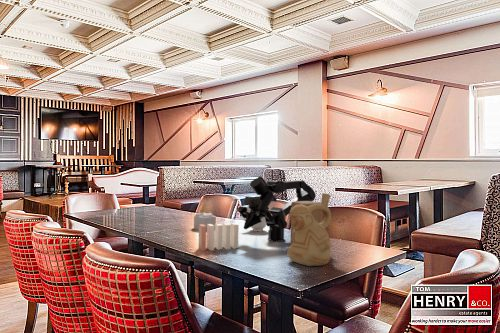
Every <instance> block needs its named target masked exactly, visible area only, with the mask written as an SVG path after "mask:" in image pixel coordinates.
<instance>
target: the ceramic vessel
mask: <svg viewBox="0 0 500 333" xmlns="http://www.w3.org/2000/svg"><path fill="white" fill-rule="evenodd" d="M330 199H331V194H328V193H322V194H321V201H320V203H321V204H313V205H310V206H308V207H307V206H305V205H302V204H299V205H295V206H294V207H292V208H291V210H290V225H291V224H292V227H293V228H294V229H293V231H292V240H293V243H292V245H291V244H290V246H289V247H288V249H287V252H286V253H287V254H286V255H287V257H288V259H289V260H290V261H292V262H294V263H296V264H300V265H303V266H307V267H314V266H315V267H316V266H317V267H319V266H323V265H327V264H329V262H330V260H331V252H332V251H331V250H332V249H331V244H332V243H331V240H330V235H329V233H328V231H327V228H328V226H330V223H331V221H332V213H331V210H330V208H329V201H330ZM318 210H320V211H323V214H324V215H323V216H324V218H323V219H322V222H321V223H318V222H317V221H316V220H315V219H314V217H313V215H312V212H314V211H318Z"/></svg>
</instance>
